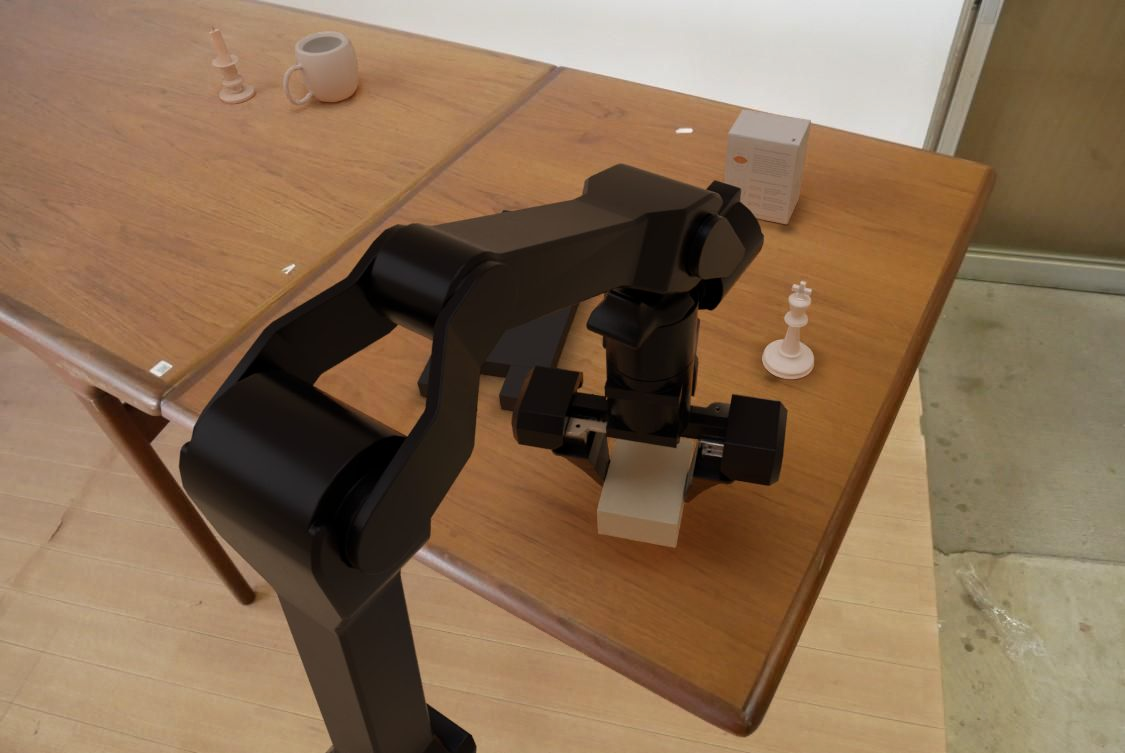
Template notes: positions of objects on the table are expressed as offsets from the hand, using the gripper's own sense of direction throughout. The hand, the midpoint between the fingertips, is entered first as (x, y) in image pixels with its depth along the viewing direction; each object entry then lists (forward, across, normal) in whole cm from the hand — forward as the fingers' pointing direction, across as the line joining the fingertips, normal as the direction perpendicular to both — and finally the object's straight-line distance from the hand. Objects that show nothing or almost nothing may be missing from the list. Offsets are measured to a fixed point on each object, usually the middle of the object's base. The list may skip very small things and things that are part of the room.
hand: (646, 490), depth 65 cm
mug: (+6, +59, -63) cm, 87 cm away
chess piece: (+6, -10, -22) cm, 25 cm away
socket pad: (+6, +18, -24) cm, 31 cm away
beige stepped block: (+1, 0, -2) cm, 2 cm away
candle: (+6, +73, -62) cm, 96 cm away
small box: (+6, -5, -47) cm, 48 cm away
